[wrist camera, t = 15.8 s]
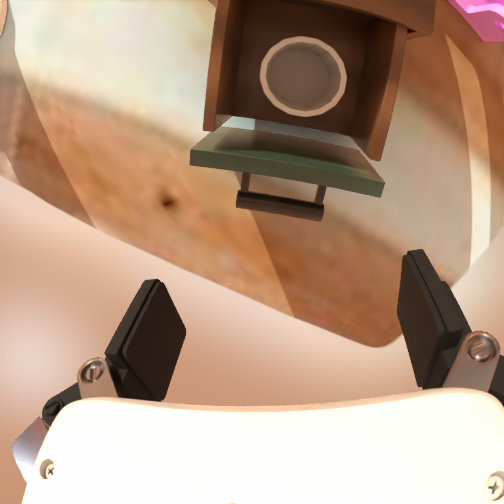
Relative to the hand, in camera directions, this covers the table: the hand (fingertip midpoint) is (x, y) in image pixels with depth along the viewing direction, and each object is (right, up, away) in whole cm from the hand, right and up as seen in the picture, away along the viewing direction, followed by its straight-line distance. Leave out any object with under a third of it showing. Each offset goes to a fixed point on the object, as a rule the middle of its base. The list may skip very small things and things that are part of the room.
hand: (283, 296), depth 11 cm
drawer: (+3, +15, +13) cm, 20 cm away
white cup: (+3, +16, +11) cm, 20 cm away
